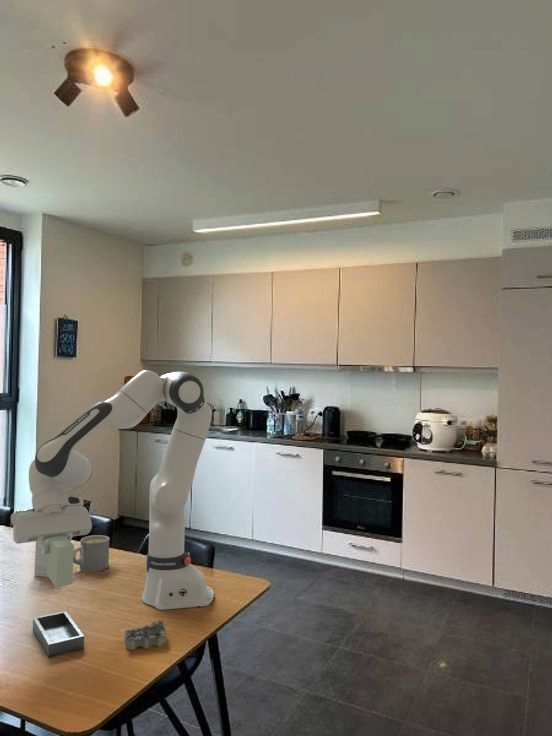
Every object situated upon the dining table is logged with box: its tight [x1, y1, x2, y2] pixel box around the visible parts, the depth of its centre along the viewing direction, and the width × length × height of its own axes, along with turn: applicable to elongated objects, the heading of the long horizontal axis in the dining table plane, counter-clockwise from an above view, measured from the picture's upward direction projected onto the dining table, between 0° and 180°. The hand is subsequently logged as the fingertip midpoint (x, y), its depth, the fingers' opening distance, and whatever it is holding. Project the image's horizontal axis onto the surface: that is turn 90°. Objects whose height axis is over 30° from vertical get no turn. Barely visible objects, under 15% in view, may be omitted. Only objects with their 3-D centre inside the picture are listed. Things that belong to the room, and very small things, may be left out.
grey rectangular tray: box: [32, 610, 85, 659], centre depth 146 cm, size 9×18×3 cm, turn 35°
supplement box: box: [34, 540, 49, 578], centre depth 193 cm, size 7×7×13 cm
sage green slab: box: [47, 536, 75, 588], centre depth 146 cm, size 4×10×10 cm, turn 35°
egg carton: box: [124, 620, 167, 650], centre depth 146 cm, size 11×8×4 cm
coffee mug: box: [73, 534, 110, 573], centre depth 200 cm, size 13×10×10 cm
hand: (57, 551), depth 149 cm, fingers closed on sage green slab, 4 cm apart
